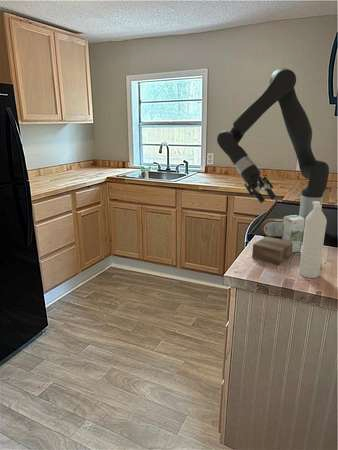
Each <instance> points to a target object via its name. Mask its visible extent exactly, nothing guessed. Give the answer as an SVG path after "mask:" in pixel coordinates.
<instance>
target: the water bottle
mask: <svg viewBox="0 0 338 450" xmlns="http://www.w3.org/2000/svg"><path fill="white" fill-rule="evenodd" d="M312 205H314V207H313V210H312V211H311V212H310V213H309V215H308V216H307V217H306V219H305V228H304V232H303V236H302V242H301V251H300V252H301V254H300V262H299V268H298V269H299V270H298V272H299V273H298V274H299V275H301V276H302V277H304V278H308V279H309V278H310V279H316V278H318V277H319V276H320V271H321V269H320V268H321V263H322V255H323V248H324V241H325V235H326V228H327V223H328V221H327V220H328V219H327V217H326V216H325V214H324V212H323V208H322V207H323V205H322V206H321V205H320V202H318V201H313V203H312Z"/></svg>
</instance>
